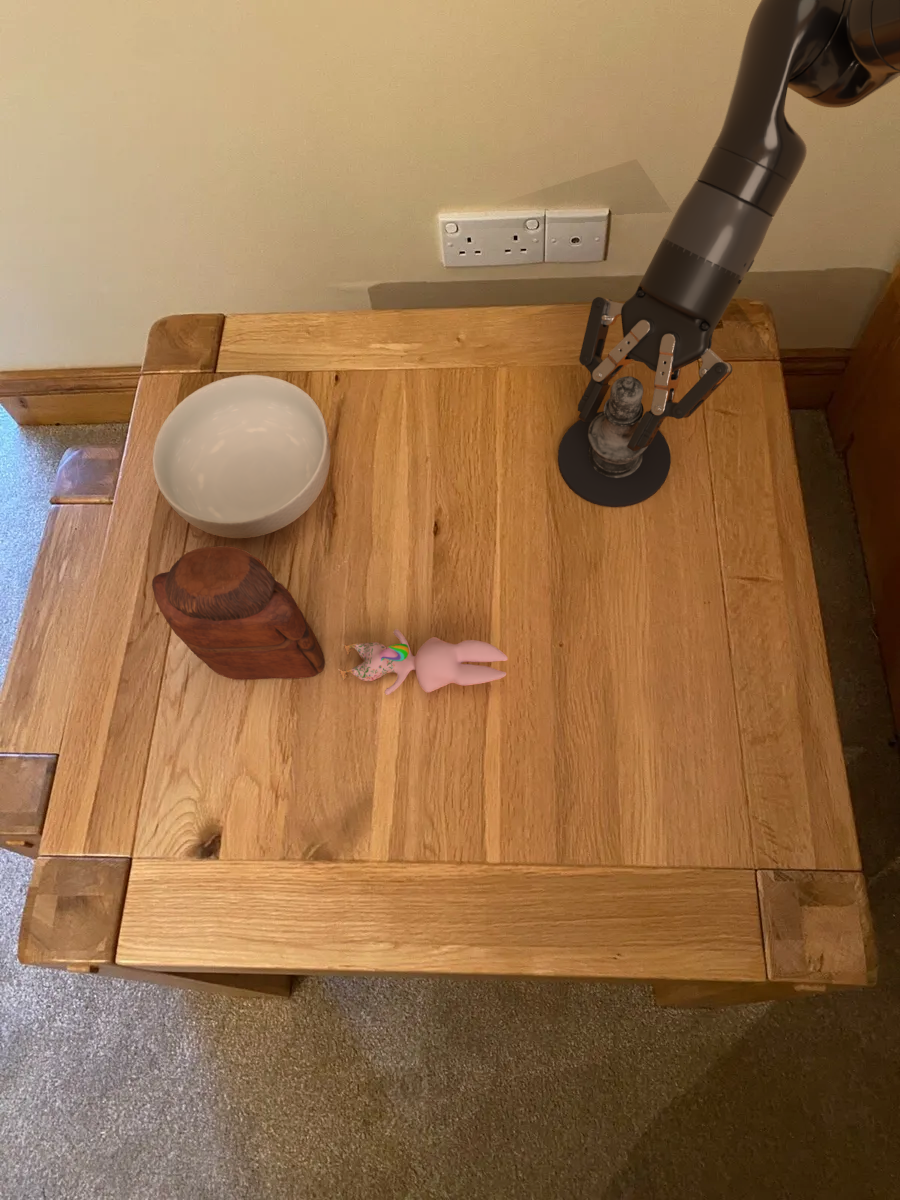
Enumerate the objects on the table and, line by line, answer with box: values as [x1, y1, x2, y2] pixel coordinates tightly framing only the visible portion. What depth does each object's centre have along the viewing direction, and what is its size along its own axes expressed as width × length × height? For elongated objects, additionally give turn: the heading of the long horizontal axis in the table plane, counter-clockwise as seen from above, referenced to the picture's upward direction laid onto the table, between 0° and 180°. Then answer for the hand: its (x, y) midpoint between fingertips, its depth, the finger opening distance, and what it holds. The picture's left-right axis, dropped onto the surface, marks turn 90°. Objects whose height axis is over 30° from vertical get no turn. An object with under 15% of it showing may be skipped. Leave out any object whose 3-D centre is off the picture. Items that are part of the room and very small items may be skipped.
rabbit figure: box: [337, 628, 509, 696], centre depth 78 cm, size 6×6×15 cm
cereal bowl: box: [152, 374, 332, 539], centre depth 86 cm, size 17×17×7 cm
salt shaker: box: [588, 375, 647, 478], centre depth 82 cm, size 6×6×12 cm
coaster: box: [557, 410, 672, 508], centre depth 88 cm, size 11×11×1 cm
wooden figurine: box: [151, 545, 326, 681], centre depth 74 cm, size 12×6×18 cm, turn 89°
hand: (609, 433), depth 82 cm, fingers open, 4 cm apart
